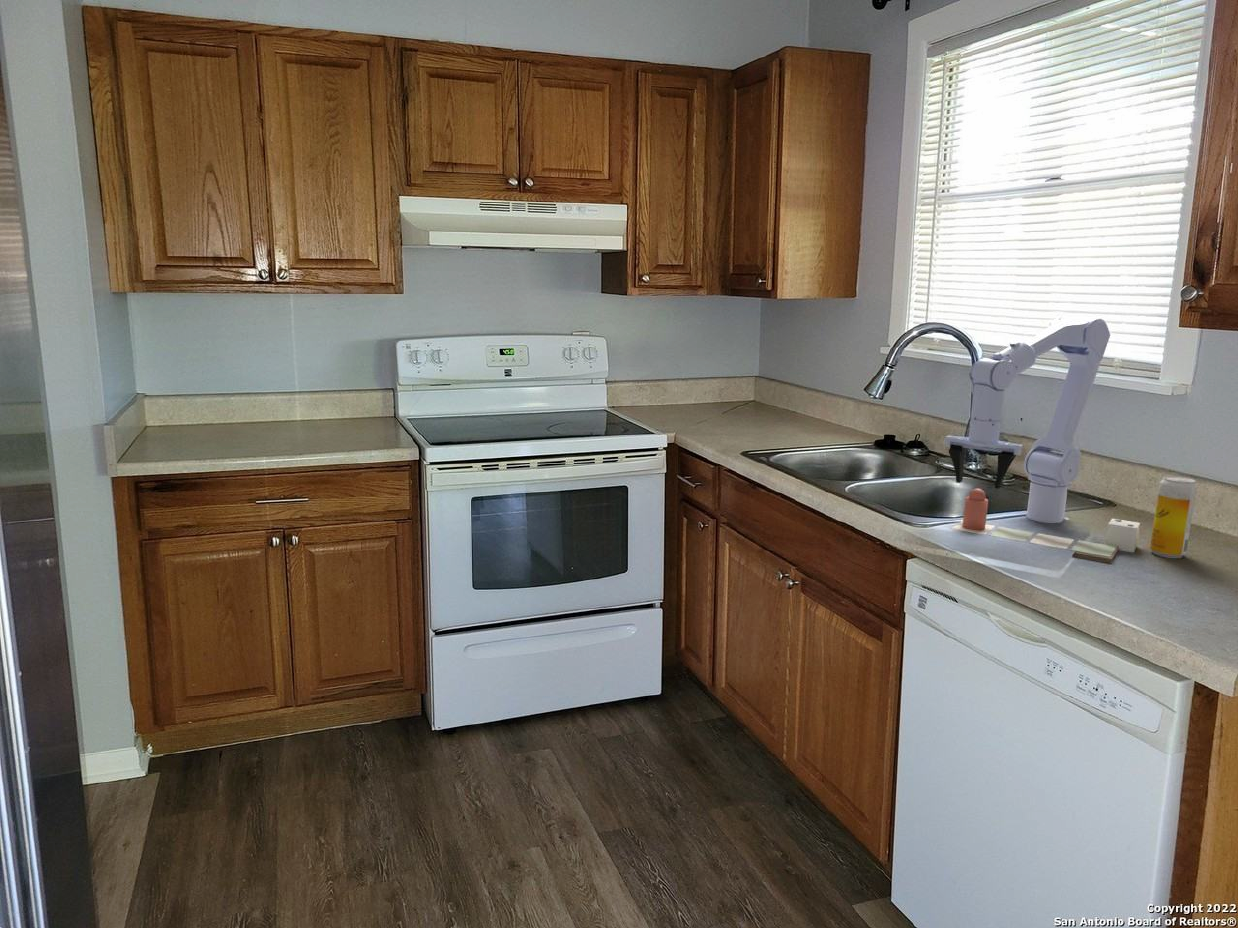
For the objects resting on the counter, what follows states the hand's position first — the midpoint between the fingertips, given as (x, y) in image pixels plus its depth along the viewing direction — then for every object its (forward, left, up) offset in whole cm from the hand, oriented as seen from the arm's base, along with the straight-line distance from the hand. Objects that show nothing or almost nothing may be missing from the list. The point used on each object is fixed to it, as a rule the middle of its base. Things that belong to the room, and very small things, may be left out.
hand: (978, 484), depth 191 cm
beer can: (-9, +34, -10) cm, 37 cm away
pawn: (0, 0, -9) cm, 9 cm away
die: (-9, +26, -10) cm, 29 cm away
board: (0, +11, -10) cm, 15 cm away
